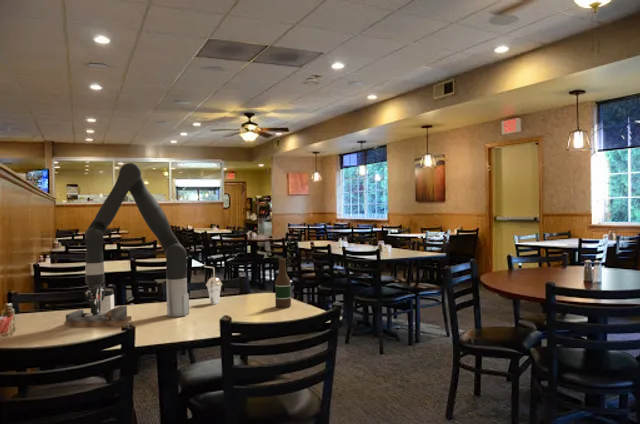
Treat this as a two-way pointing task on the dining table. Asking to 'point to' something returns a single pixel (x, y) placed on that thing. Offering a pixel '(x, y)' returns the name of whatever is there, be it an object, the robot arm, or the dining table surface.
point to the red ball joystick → (97, 310)
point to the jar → (107, 301)
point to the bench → (98, 319)
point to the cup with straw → (214, 288)
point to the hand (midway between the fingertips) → (95, 311)
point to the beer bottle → (282, 286)
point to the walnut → (109, 314)
